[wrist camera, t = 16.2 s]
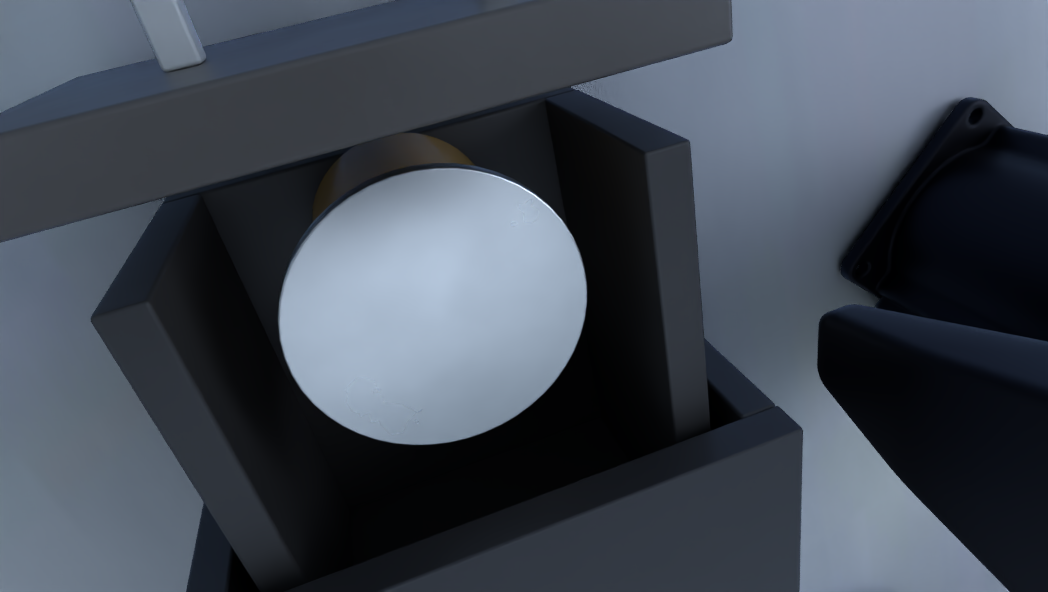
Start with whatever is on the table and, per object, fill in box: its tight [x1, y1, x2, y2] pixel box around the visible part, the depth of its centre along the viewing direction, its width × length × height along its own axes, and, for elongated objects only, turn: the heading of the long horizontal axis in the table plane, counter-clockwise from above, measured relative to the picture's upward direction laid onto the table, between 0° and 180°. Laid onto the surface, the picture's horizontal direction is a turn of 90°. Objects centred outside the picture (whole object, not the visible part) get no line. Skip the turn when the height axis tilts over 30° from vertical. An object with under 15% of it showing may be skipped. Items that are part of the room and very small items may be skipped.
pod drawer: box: [0, 0, 733, 592], centre depth 13 cm, size 17×10×6 cm, turn 11°
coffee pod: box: [277, 133, 587, 445], centre depth 13 cm, size 5×5×5 cm
